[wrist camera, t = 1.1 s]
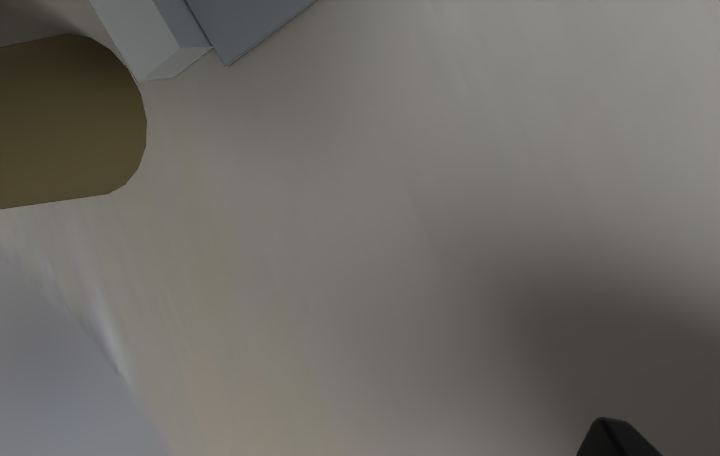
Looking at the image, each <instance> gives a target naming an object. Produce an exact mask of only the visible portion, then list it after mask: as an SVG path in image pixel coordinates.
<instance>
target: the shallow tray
mask: <svg viewBox="0 0 720 456" xmlns="http://www.w3.org/2000/svg"><path fill="white" fill-rule="evenodd" d="M315 1H317V0H89V2H90V4H91V5H92V7H93V9H94V10H95V12H96V14H97V15H98V17H99V19H100V20H101V22H102V23H103V25H104V27H105V28H106V30H107V32H108V33H109V35H110V37H111V38H112V40H113V42H114V43H115V45H116V47H117V48H118V50H119V52H120V53H121V55H122V57H123V58H124V60H125V62H126V63H127V65H128V67H129V68H130V70H131V72H132V73H133V75H134V77H135V78H136V80H137V82H143V81H151V80H160V79H168V78H175V77H176V76H177V75H178V74H180V73H181V72H182V71H184V70H185V69H186V68H187V67H189V66H190V65H191V64H193V63H194V62H195V61H197V60H198V59H199V58H200V57H202V56H203V55H204V54H206V53H207V52H208V51H209V50H211V49H212V48H213V47H214V49H215V51H216V52H217V54H218V56H219V57H220V59H221V61H222V63H223V64H224V66H230V65H231V64H232V63H234V62H235V61H236V60H238V59H239V58H240V57H242V56H243V55H244V54H246V53H247V52H248V51H250V50H251V49H252V48H254V47H255V46H256V45H258V44H259V43H261V42H262V41H263V40H265V39H266V38H267V37H269V36H270V35H271V34H273V33H274V32H275V31H277V30H278V29H279V28H281V27H282V26H283V25H285V24H286V23H287V22H289V21H290V20H291V19H293V18H294V17H295V16H297V15H298V14H299V13H301V12H302V11H303V10H305V9H306V8H307V7H309V6H310V5H311V4H313V3H314V2H315Z"/></svg>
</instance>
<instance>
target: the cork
mask: <svg viewBox="0 0 720 456" xmlns="http://www.w3.org/2000/svg"><path fill="white" fill-rule="evenodd" d="M146 124H147V120H146V116H145V111H144V107H143V102H142V98H141V94H140V92H139V90H138V88H137V86H136V84H135V82H134V80H133V78H132V76H131V74H130V72H129V71H128V69H127V68H126V67H125V66H124V65H123V64H122V62H121V61H120V60H119V59H118V58H117V57H116V56H115V55H114V54H113V52H112V51H111V50H109V49H108V48H106V47H104V46H103V45H101V44H99V43H98V42H96V41H94V40H93V39H91V38H88V37H83V36H78V35H73V34H64V35H59V36H54V37H49V38H44V39H39V40H34V41H29V42H24V43H19V44H14V45H10V46H5V47H0V209H6V208H13V207H20V206H27V205H34V204H41V203H48V202H55V201H62V200H69V199H76V198H83V197H90V196H97V195H104V194H109V193H111V192H112V191H114V190H116V189H118V188H120V187H121V186H123V185H125V184H126V183H127V181H128V180H129V179H130V178H131V176H132V175H133V174H134V173H135V171H136V170H137V169H138V167H139V164H140V161H141V158H142V155H143V152H144V150H145V147H146Z"/></svg>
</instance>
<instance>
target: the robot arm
mask: <svg viewBox="0 0 720 456" xmlns="http://www.w3.org/2000/svg"><path fill="white" fill-rule="evenodd" d="M576 456H663V455H662V454H661V453H659V452H658V451H657V450H656V449H655V448H654V447H653V446H652V445H651V444H650V443H649V442H648V441H647V440H646V439H645V438H644V437H643V436H642V435H641V434H640V433H639V432H638V431H637V430H636V429H635V428H634V427H633V426H632V425H630V424H629V423H628V422H626V421H624V420H619V419H612V418H605V417H599V418H597V419H596V420H594V421H593V423H592V425H591V427H590V429H589V431H588V433H587V435H586V437H585V439H584V441H583V443H582V444H581V446H580V448H579V450H578V452H577V455H576Z"/></svg>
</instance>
